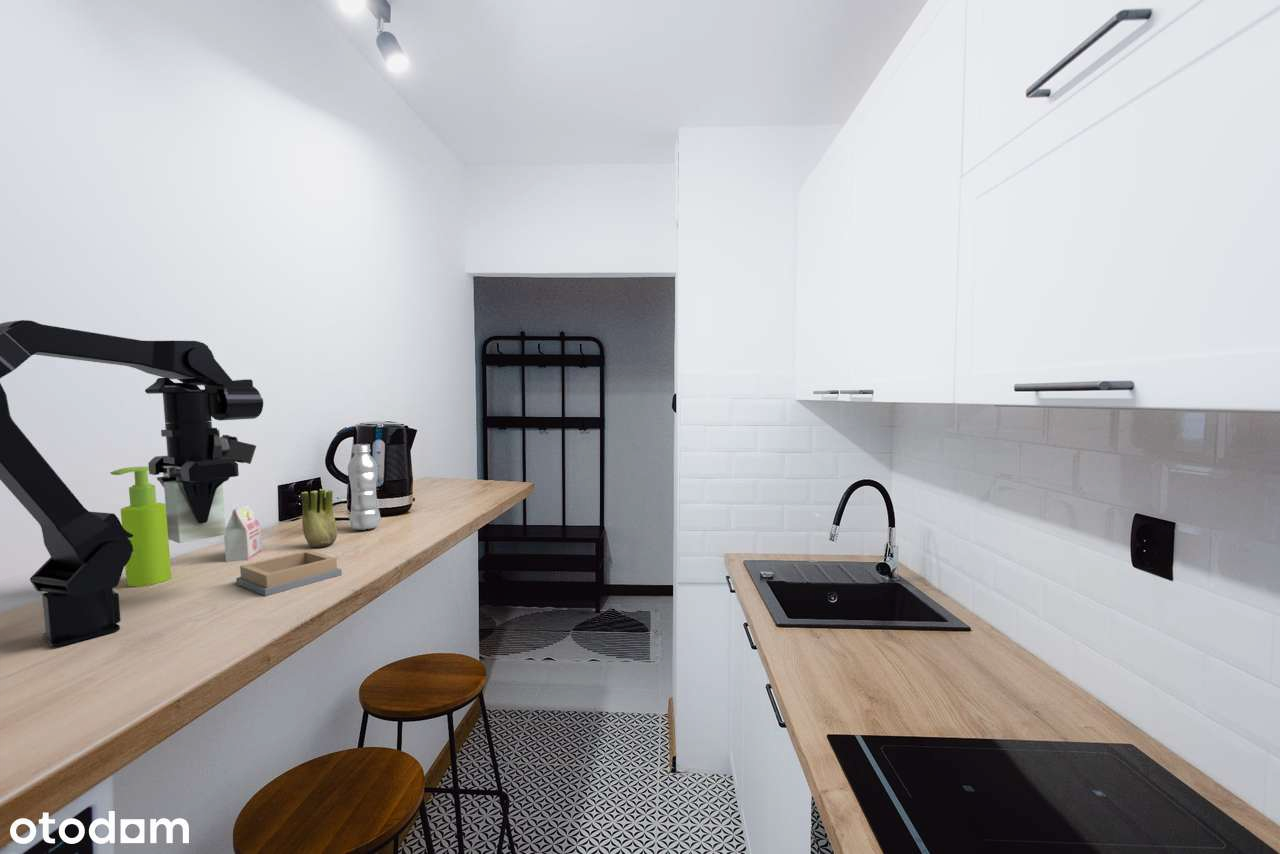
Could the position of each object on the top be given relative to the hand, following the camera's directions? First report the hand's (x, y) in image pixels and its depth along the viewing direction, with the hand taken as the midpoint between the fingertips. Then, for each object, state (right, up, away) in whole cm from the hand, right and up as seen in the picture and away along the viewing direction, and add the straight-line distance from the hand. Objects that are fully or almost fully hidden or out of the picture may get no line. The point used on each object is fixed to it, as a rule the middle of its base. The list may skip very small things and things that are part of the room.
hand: (196, 520), depth 89 cm
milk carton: (-9, -11, +23) cm, 27 cm away
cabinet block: (0, -3, 0) cm, 2 cm away
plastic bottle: (+6, -9, +44) cm, 45 cm away
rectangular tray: (+10, -11, +8) cm, 17 cm away
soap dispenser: (-15, -12, +8) cm, 21 cm away
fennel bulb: (+3, -10, +30) cm, 32 cm away
